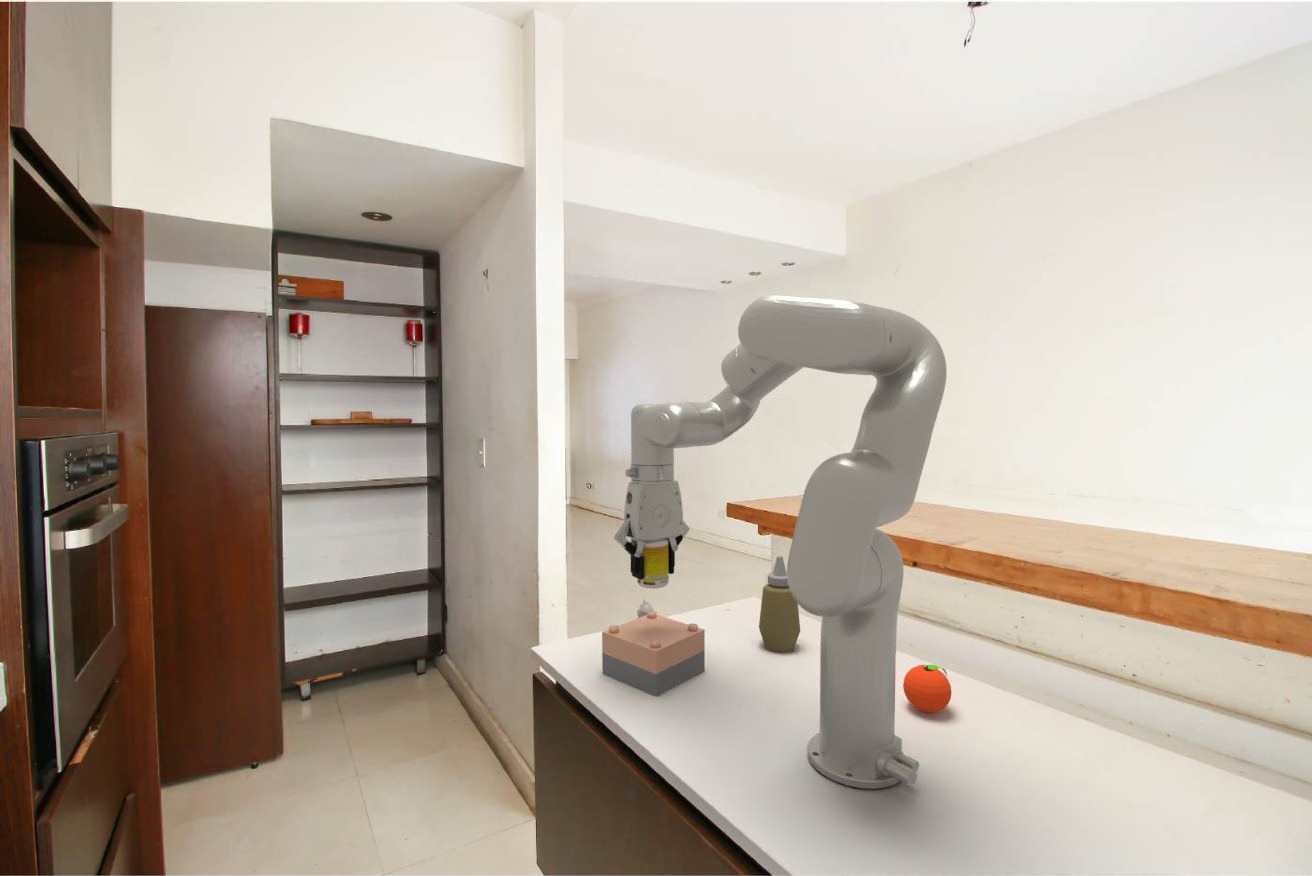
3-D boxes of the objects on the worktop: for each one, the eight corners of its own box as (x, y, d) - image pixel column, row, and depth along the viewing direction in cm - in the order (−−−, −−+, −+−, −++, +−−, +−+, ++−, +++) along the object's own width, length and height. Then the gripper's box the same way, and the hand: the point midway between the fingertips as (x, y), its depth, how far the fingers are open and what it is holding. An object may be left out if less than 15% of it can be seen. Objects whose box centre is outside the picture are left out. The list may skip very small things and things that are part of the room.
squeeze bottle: (750, 643, 122) (750, 555, 121) (782, 636, 126) (782, 550, 125) (776, 658, 115) (776, 564, 114) (809, 649, 119) (809, 559, 118)
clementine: (927, 694, 101) (928, 652, 100) (965, 713, 94) (966, 668, 94) (893, 705, 97) (893, 661, 97) (930, 725, 91) (930, 679, 90)
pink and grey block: (704, 670, 110) (704, 625, 109) (656, 696, 100) (656, 646, 100) (651, 651, 119) (651, 609, 118) (602, 673, 109) (602, 627, 108)
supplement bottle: (675, 585, 108) (674, 528, 108) (650, 591, 105) (650, 532, 104) (655, 578, 112) (654, 523, 112) (631, 584, 109) (630, 527, 108)
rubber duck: (644, 629, 130) (644, 592, 130) (667, 636, 126) (667, 598, 126) (626, 636, 126) (626, 598, 126) (650, 644, 122) (650, 605, 122)
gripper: (620, 479, 100) (621, 588, 101) (704, 472, 109) (704, 572, 110) (599, 475, 106) (600, 577, 107) (680, 469, 115) (680, 563, 116)
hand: (653, 573), depth 108 cm, fingers closed on supplement bottle, 5 cm apart
